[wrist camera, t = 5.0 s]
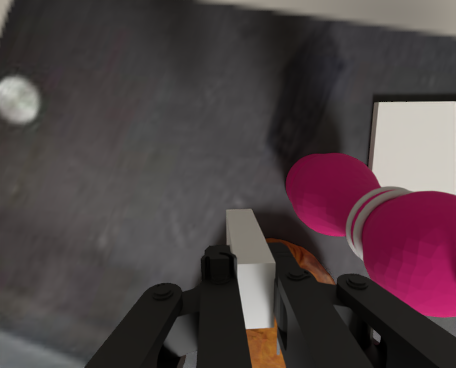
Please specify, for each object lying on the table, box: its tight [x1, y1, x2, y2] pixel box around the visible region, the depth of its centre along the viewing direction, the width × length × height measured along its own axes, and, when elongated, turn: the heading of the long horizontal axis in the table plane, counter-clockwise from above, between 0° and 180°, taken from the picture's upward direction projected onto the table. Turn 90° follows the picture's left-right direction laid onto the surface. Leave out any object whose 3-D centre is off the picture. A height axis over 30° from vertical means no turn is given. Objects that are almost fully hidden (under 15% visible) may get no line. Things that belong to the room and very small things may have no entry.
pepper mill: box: [286, 153, 456, 317], centre depth 20 cm, size 7×7×20 cm
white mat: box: [368, 101, 456, 195], centre depth 30 cm, size 18×16×1 cm
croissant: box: [246, 238, 336, 368], centre depth 29 cm, size 14×16×8 cm
